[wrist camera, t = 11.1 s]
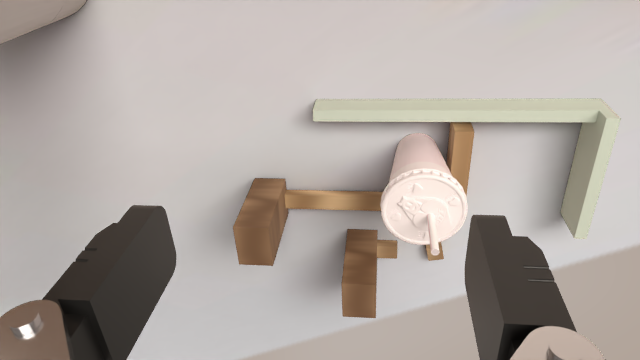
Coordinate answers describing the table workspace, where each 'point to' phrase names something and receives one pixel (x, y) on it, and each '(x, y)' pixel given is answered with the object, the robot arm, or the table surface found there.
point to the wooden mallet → (320, 202)
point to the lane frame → (591, 112)
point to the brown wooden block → (366, 270)
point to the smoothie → (422, 195)
